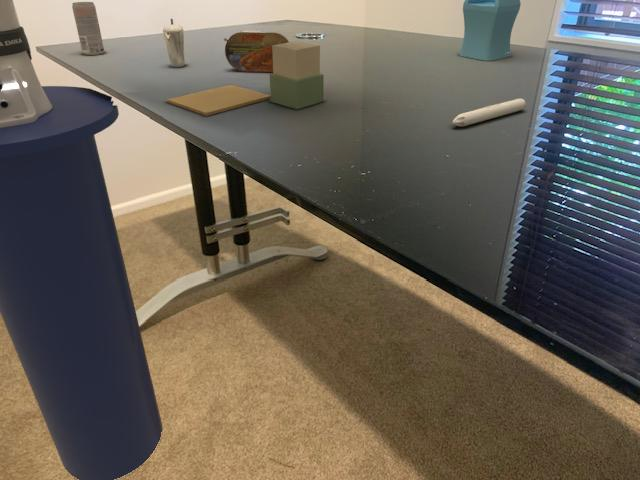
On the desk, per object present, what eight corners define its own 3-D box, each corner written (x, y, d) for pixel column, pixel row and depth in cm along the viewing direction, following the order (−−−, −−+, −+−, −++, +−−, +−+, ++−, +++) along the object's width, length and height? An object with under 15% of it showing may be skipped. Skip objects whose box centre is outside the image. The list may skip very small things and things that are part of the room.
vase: (456, 55, 132) (471, -56, 119) (478, 50, 138) (495, -56, 125) (488, 61, 126) (508, -55, 113) (510, 56, 131) (531, -55, 118)
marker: (456, 130, 81) (459, 116, 79) (447, 127, 82) (448, 113, 81) (524, 111, 90) (527, 98, 88) (514, 108, 91) (517, 95, 90)
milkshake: (187, 62, 122) (181, 18, 117) (188, 67, 118) (182, 21, 113) (167, 63, 121) (161, 18, 116) (168, 68, 117) (161, 22, 112)
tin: (226, 71, 115) (222, 31, 111) (230, 68, 118) (227, 29, 114) (290, 73, 113) (289, 33, 109) (293, 70, 116) (292, 31, 112)
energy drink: (100, 50, 135) (90, 1, 129) (107, 53, 131) (97, 3, 125) (80, 52, 132) (68, 2, 126) (86, 56, 128) (74, 4, 122)
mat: (206, 116, 86) (206, 112, 86) (167, 102, 93) (166, 99, 93) (271, 98, 96) (270, 95, 96) (231, 87, 103) (230, 84, 102)
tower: (297, 109, 90) (296, 50, 85) (270, 101, 94) (268, 45, 89) (323, 101, 94) (324, 45, 89) (297, 94, 98) (296, 40, 93)
